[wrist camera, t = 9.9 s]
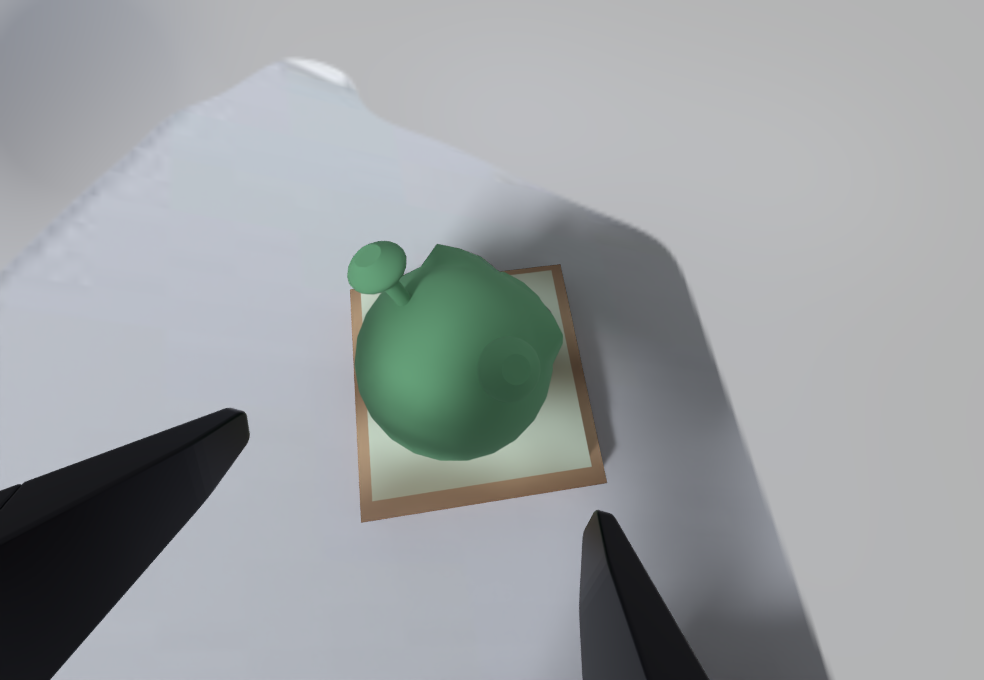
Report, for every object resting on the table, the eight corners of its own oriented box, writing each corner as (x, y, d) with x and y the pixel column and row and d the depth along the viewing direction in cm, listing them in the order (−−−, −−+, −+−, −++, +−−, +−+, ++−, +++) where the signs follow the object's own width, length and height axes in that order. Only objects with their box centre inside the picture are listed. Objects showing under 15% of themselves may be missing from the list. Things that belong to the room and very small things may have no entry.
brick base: (595, 479, 20) (617, 486, 17) (372, 514, 20) (350, 529, 16) (553, 278, 24) (566, 251, 20) (361, 302, 23) (340, 277, 19)
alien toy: (570, 358, 19) (667, 264, 9) (474, 490, 17) (465, 552, 7) (460, 277, 20) (440, 116, 10) (359, 394, 18) (214, 335, 8)
